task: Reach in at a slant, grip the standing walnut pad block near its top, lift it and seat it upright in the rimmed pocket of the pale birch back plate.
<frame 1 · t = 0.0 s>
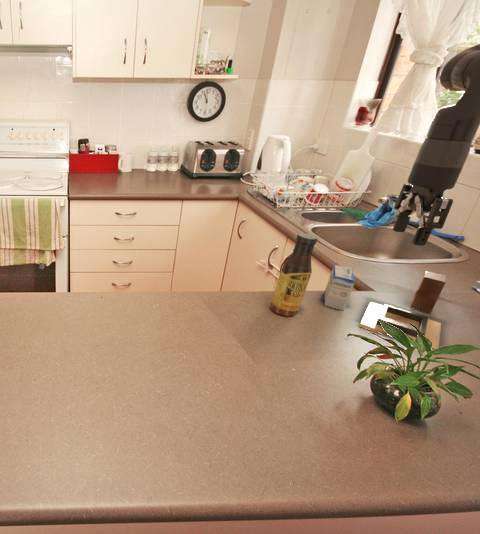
hand: (407, 237, 85), 21 cm above the countertop, tool pointing down, fingers open, 8 cm apart
pad block: (420, 307, 98), on the countertop
sauce bottle: (283, 311, 95), on the countertop
back plate: (399, 326, 90), on the countertop
medicine box: (333, 302, 100), on the countertop
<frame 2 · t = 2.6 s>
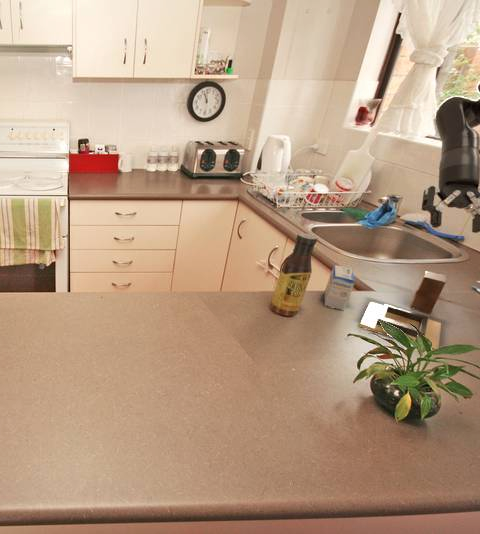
hand: (456, 229, 96), 19 cm above the countertop, tool tilted 35°, fingers open, 8 cm apart
nothing on the countertop moved.
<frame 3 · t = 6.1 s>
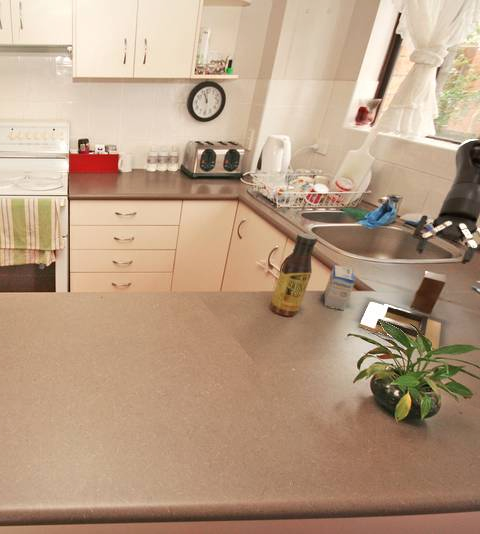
hand: (441, 257, 98), 12 cm above the countertop, tool tilted 45°, fingers open, 8 cm apart
nothing on the countertop moved.
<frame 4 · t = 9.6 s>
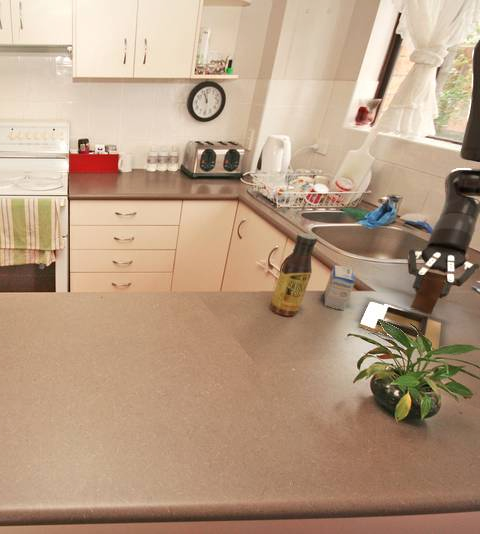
hand: (428, 293, 95), 5 cm above the countertop, tool tilted 45°, fingers closed on pad block, 4 cm apart
pad block: (421, 307, 98), on the countertop, touching gripper
everything else where it was.
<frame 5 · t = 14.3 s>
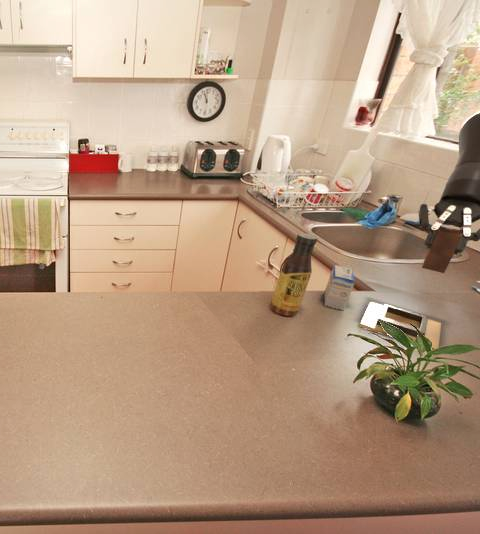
hand: (442, 249, 86), 18 cm above the countertop, tool tilted 45°, fingers closed on pad block, 4 cm apart
pad block: (433, 267, 90), point 13 cm above the countertop, touching gripper
everything else where it was.
when the fingers open (6 cm above the countertop, at t = 19.5 s): pad block stays where it is, resting on back plate.
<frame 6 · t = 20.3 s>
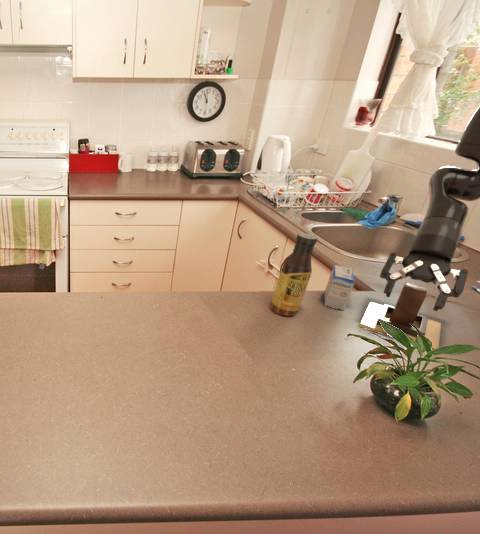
hand: (411, 302, 86), 7 cm above the countertop, tool tilted 45°, fingers open, 8 cm apart
pad block: (399, 322, 90), point 1 cm above the countertop, touching back plate
everything else where it was.
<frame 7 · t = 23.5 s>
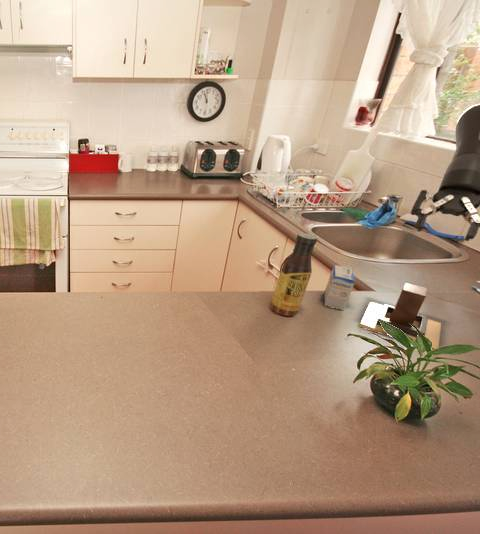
hand: (442, 234, 90), 20 cm above the countertop, tool tilted 45°, fingers open, 8 cm apart
nothing on the countertop moved.
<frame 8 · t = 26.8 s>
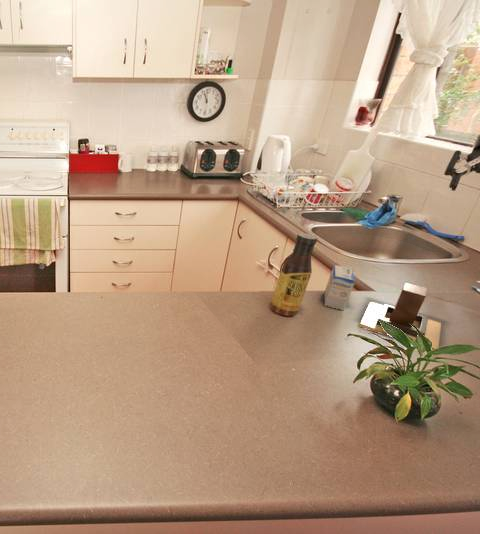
hand: (477, 192, 91), 29 cm above the countertop, tool tilted 45°, fingers open, 8 cm apart
nothing on the countertop moved.
at the end: pad block 0.2 cm off-centre on the back plate, point 1.0 cm above the back plate's base; pad block tilted 0°; the gripper is holding nothing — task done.
